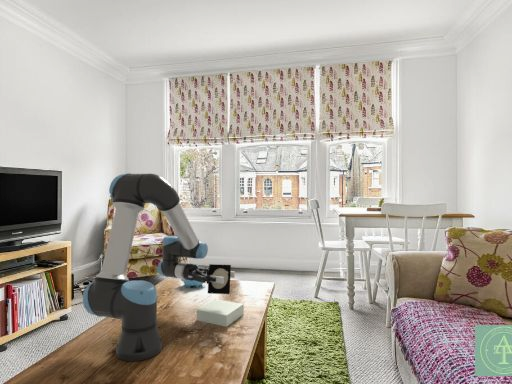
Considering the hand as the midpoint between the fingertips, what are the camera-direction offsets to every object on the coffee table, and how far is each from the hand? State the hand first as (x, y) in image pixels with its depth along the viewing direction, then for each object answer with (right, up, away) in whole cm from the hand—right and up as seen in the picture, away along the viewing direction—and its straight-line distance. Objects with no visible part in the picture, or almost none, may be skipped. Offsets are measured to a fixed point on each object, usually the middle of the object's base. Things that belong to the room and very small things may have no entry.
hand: (229, 277), depth 144 cm
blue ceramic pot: (-24, -18, +50) cm, 58 cm away
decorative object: (-4, -7, +2) cm, 8 cm away
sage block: (-4, -18, +2) cm, 19 cm away
